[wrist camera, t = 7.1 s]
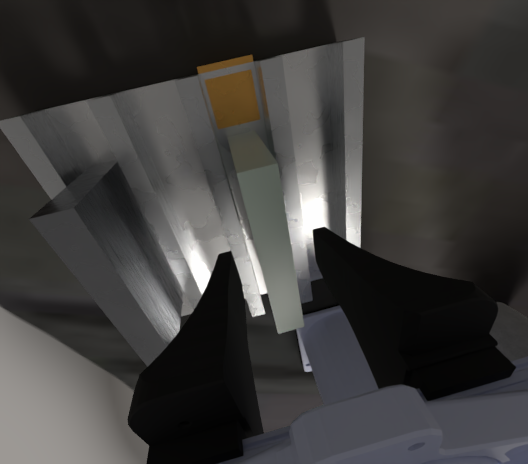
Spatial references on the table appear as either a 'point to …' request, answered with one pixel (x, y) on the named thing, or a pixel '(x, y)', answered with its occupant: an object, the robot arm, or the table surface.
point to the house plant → (510, 332)
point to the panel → (268, 226)
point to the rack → (195, 180)
